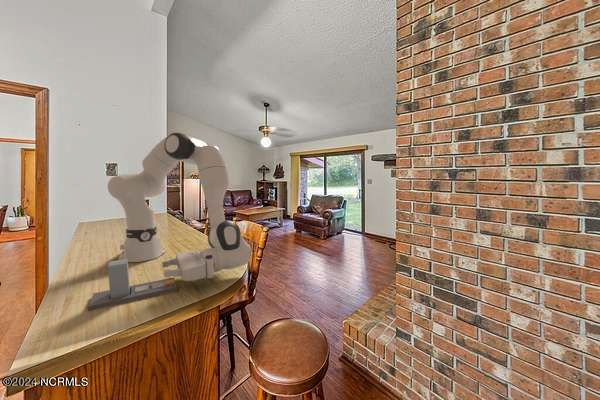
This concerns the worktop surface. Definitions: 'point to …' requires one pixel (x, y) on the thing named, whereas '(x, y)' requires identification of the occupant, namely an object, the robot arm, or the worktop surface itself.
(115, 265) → the grey rectangular block
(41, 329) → the worktop surface
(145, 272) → the worktop surface
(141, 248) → the robot arm
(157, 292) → the power strip
